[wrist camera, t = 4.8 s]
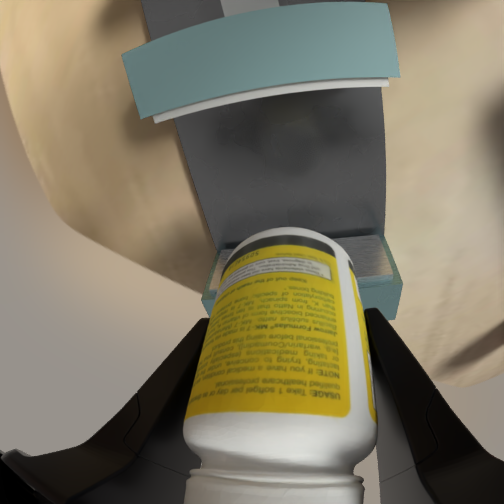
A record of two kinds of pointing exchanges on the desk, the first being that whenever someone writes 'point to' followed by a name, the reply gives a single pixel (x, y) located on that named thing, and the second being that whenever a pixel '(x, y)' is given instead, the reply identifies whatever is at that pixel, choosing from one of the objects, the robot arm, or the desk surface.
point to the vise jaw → (263, 55)
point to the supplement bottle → (283, 378)
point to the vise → (289, 166)
